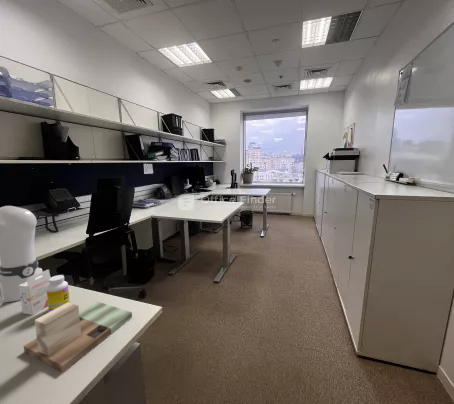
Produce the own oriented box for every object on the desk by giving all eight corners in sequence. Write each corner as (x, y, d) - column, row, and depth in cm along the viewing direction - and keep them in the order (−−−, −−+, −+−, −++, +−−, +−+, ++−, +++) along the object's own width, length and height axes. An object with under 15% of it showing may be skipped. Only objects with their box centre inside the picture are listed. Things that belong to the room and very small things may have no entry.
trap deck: (24, 351, 64) (23, 346, 64) (97, 306, 87) (97, 301, 86) (63, 372, 58) (62, 365, 58) (132, 317, 80) (131, 312, 80)
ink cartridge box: (44, 300, 90) (40, 267, 88) (54, 302, 89) (50, 268, 87) (21, 313, 82) (16, 277, 80) (32, 315, 81) (27, 279, 79)
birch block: (38, 351, 62) (34, 319, 61) (70, 330, 71) (67, 302, 69) (49, 356, 60) (45, 324, 59) (81, 334, 69) (78, 305, 67)
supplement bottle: (67, 311, 83) (63, 280, 82) (46, 315, 81) (42, 283, 79) (72, 301, 90) (69, 272, 88) (52, 305, 87) (49, 275, 85)
